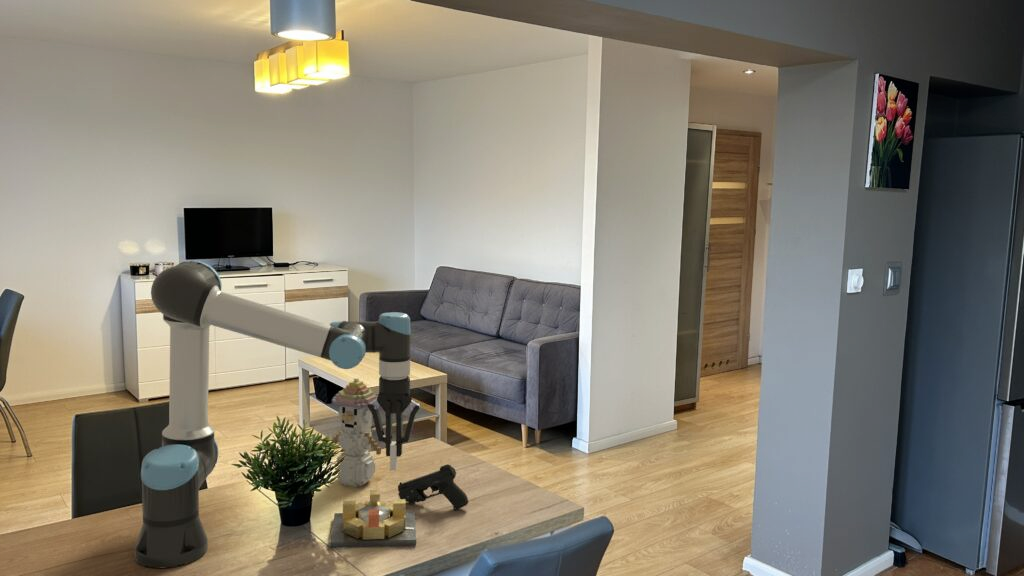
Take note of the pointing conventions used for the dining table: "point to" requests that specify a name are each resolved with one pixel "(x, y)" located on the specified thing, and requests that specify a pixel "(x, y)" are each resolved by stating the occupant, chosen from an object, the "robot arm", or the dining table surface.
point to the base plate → (347, 541)
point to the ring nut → (373, 518)
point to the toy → (355, 434)
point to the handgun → (434, 487)
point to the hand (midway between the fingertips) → (393, 468)
